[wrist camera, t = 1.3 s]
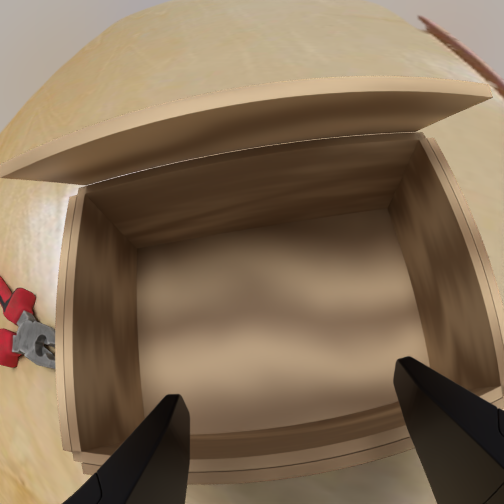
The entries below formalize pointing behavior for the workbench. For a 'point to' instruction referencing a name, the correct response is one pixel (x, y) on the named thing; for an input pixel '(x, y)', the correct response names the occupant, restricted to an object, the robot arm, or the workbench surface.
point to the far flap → (244, 123)
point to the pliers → (24, 330)
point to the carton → (272, 303)
